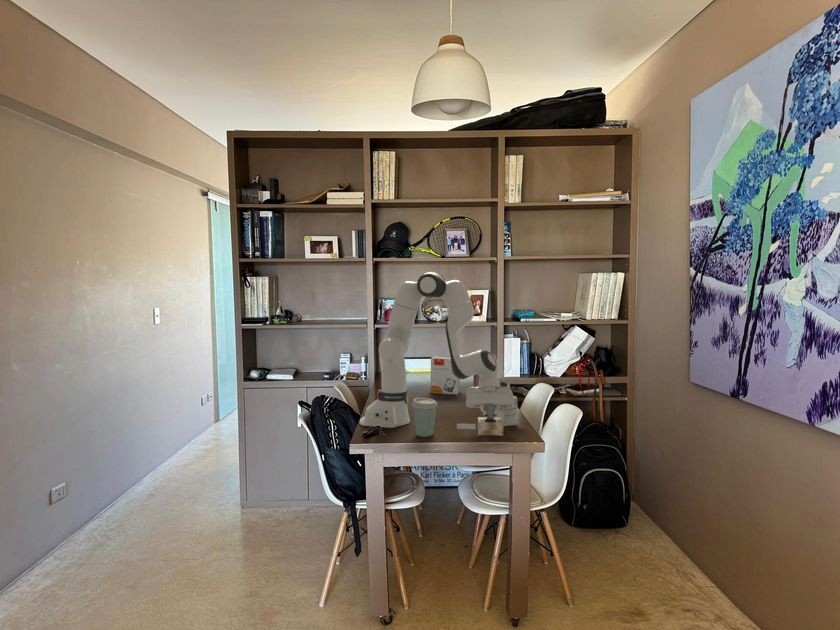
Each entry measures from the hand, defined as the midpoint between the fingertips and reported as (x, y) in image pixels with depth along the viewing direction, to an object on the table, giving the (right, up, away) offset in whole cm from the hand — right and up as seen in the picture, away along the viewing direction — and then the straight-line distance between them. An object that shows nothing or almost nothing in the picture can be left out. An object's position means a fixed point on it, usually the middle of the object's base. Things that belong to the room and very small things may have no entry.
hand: (490, 415), depth 221 cm
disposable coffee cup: (-27, -8, -3) cm, 29 cm away
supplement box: (+9, -6, +14) cm, 17 cm away
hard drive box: (-15, -2, +75) cm, 77 cm away
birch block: (0, -7, +1) cm, 7 cm away
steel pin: (0, -5, +1) cm, 5 cm away
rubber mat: (-9, -7, +9) cm, 15 cm away
